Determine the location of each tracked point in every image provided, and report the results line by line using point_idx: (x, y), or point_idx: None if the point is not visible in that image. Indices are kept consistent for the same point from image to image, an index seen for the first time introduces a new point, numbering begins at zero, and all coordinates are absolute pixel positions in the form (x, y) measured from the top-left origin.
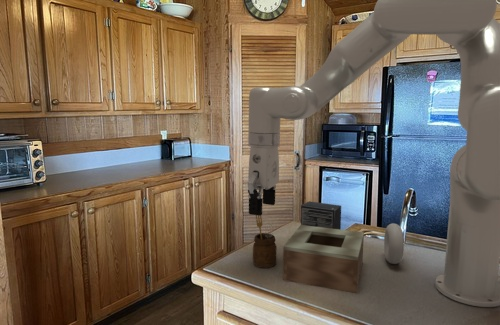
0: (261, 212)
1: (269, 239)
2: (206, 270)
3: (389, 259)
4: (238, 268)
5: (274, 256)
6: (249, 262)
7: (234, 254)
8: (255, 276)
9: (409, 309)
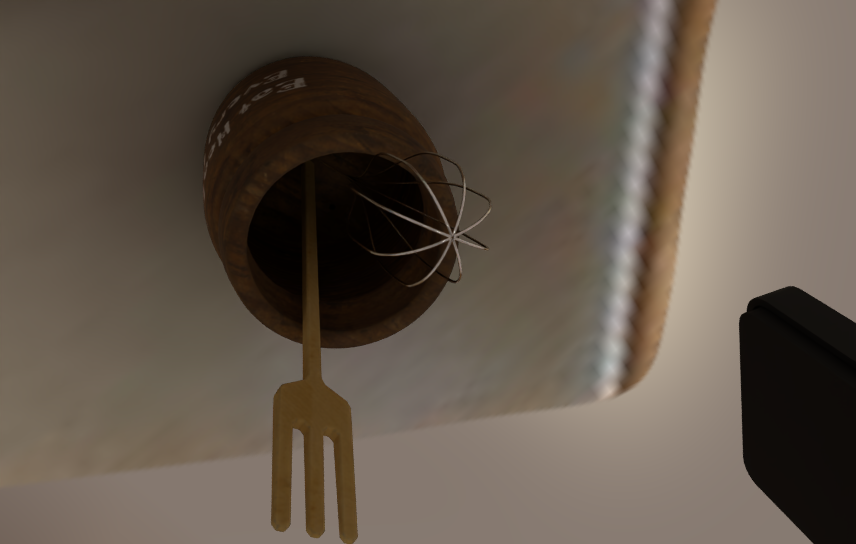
0: (821, 304)
1: (392, 152)
2: (619, 372)
3: None
4: (498, 249)
5: (320, 67)
6: None
7: None
8: (543, 71)
9: None
